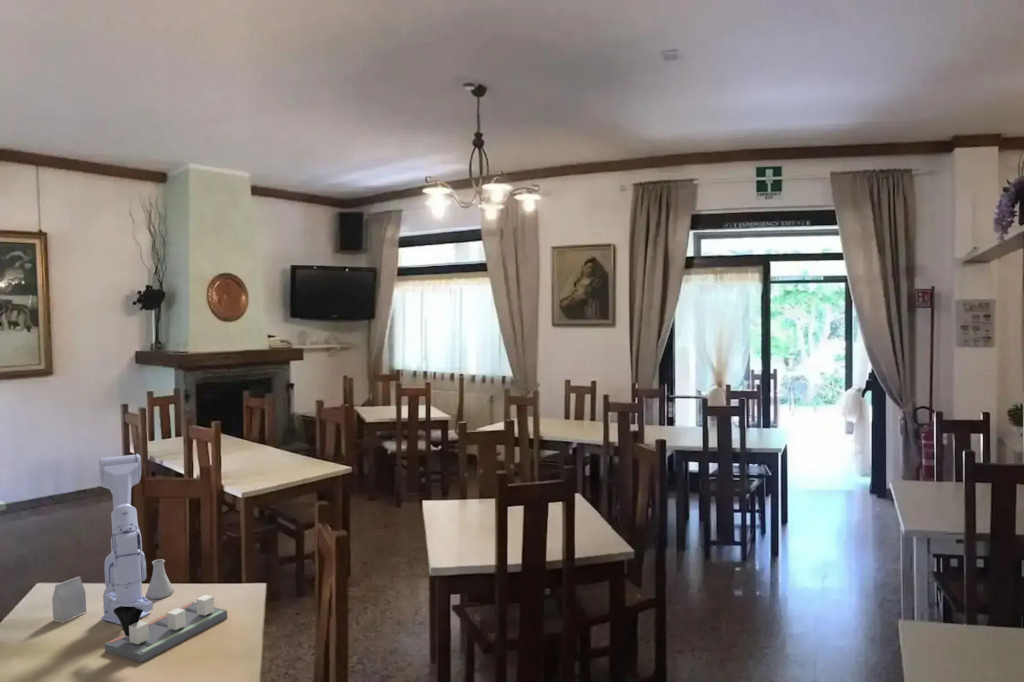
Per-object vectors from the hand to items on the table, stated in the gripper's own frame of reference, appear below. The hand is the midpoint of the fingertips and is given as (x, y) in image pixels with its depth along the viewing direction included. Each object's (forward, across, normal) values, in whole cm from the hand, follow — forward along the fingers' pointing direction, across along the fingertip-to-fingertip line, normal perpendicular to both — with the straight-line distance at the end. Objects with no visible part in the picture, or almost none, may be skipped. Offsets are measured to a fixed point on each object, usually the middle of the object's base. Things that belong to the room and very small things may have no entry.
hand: (130, 634), depth 178 cm
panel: (+3, +2, +9) cm, 10 cm away
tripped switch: (+1, +3, 0) cm, 3 cm away
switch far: (+1, +5, +18) cm, 19 cm away
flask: (+4, -21, +25) cm, 33 cm away
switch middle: (+1, +5, +9) cm, 10 cm away
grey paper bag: (+4, -31, +5) cm, 32 cm away
